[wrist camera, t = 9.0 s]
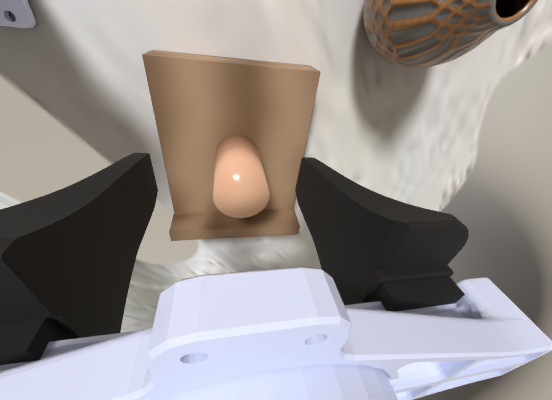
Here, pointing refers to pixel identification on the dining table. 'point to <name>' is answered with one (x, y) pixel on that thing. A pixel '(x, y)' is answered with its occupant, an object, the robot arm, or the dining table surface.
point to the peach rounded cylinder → (239, 178)
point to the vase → (435, 27)
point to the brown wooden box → (226, 122)
